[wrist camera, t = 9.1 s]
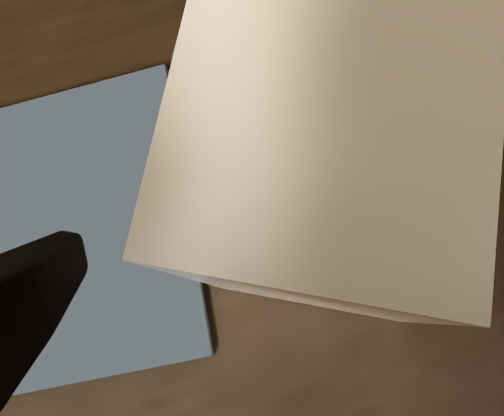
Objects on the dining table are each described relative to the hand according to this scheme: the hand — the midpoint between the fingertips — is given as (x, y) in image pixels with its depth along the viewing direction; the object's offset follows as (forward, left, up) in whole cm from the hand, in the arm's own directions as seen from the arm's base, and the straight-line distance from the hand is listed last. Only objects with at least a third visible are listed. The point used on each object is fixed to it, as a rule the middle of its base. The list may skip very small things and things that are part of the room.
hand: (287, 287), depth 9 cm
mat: (+12, +5, -10) cm, 16 cm away
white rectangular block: (+2, -3, -10) cm, 11 cm away
